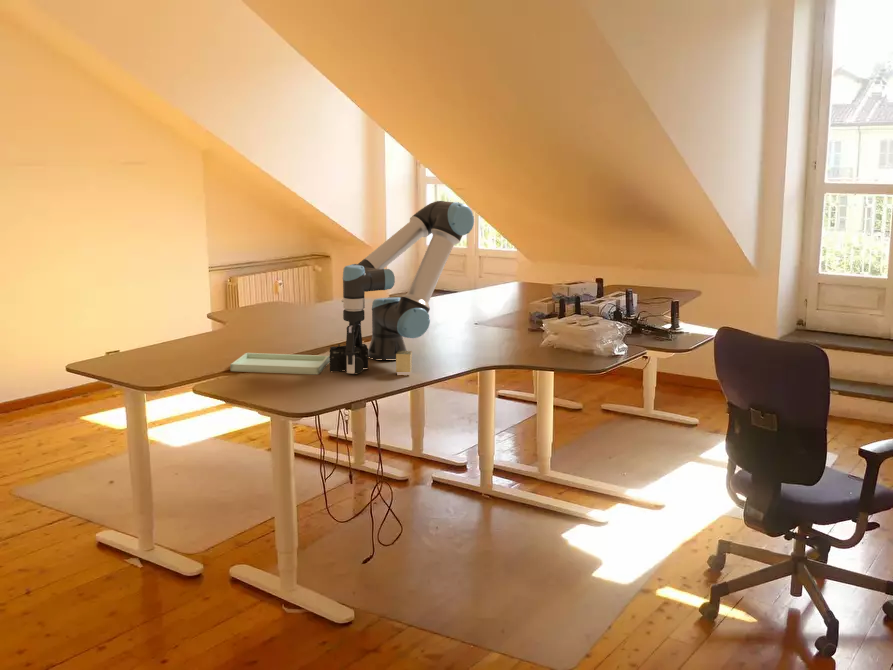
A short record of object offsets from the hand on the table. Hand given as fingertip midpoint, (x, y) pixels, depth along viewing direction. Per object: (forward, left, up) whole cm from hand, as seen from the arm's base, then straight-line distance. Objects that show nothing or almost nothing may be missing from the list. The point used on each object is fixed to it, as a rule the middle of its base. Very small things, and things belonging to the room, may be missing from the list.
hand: (354, 368), depth 317 cm
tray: (-4, -28, -1) cm, 28 cm away
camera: (0, -1, -2) cm, 2 cm away
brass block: (0, +18, -1) cm, 18 cm away
